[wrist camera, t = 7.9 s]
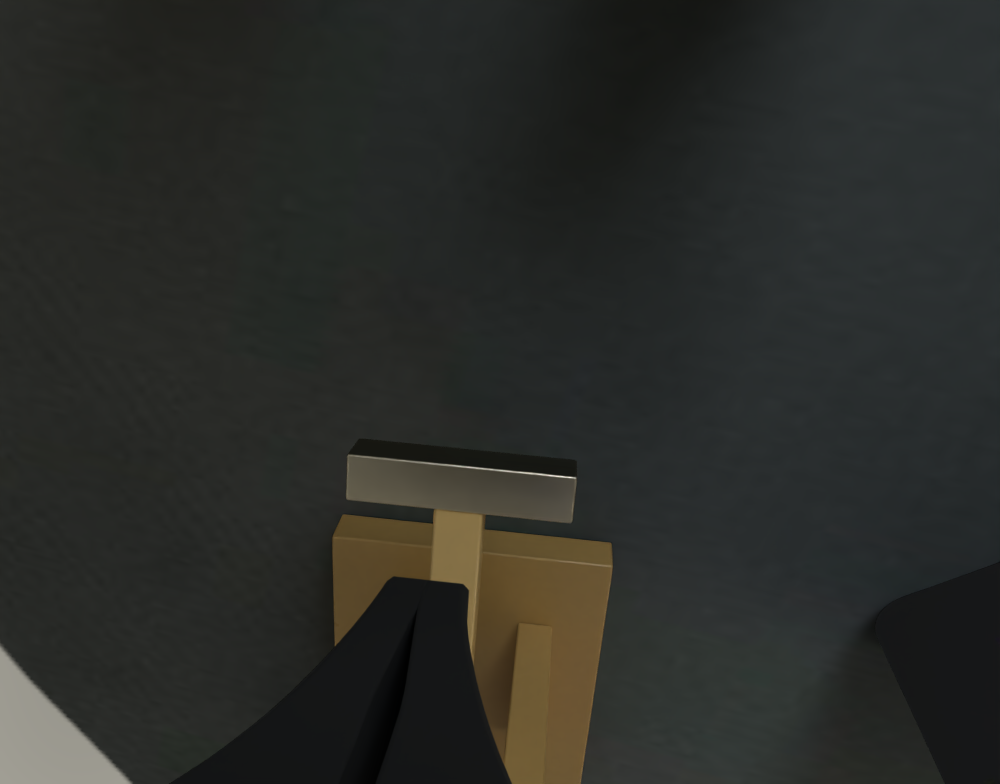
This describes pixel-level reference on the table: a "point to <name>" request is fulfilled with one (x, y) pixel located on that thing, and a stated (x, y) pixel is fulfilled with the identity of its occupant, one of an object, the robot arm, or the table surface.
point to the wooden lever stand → (504, 630)
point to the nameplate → (951, 670)
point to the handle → (461, 498)
